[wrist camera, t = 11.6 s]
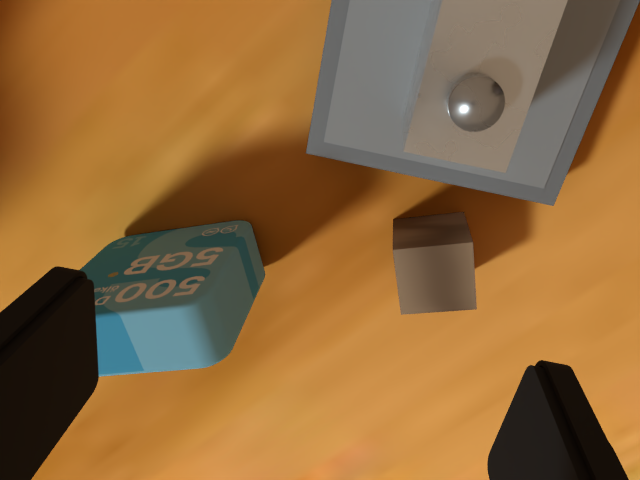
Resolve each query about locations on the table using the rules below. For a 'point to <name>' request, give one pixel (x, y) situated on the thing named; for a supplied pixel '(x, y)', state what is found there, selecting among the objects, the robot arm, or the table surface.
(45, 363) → the robot arm
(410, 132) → the block
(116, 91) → the table surface
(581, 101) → the grey square tray
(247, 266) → the data package
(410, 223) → the walnut block
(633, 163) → the table surface
